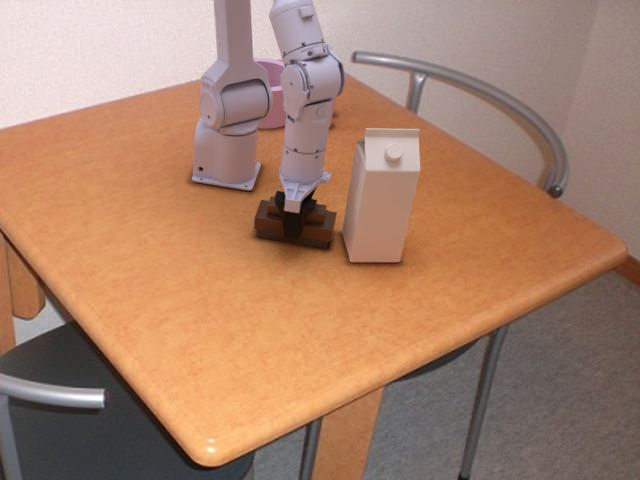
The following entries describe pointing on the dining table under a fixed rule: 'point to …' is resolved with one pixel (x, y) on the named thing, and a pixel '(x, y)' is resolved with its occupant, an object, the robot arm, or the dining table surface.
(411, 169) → the milk carton
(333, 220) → the brush
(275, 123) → the clip
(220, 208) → the dining table surface
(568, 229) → the dining table surface
